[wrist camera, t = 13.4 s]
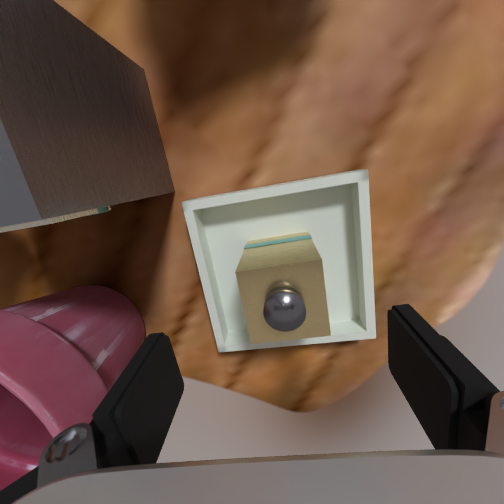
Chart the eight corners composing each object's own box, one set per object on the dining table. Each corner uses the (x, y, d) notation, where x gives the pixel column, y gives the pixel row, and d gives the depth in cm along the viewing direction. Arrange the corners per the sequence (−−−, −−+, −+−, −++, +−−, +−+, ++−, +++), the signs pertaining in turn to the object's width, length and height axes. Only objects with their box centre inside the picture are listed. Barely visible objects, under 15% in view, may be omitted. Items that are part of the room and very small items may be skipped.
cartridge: (246, 240, 22) (231, 277, 14) (308, 230, 21) (326, 264, 14) (257, 295, 23) (248, 355, 16) (315, 287, 23) (335, 346, 15)
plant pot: (9, 279, 26) (-227, 375, 14) (132, 240, 23) (-23, 314, 11) (78, 391, 30) (-60, 545, 17) (190, 367, 27) (120, 527, 15)
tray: (191, 198, 22) (181, 202, 19) (357, 169, 20) (368, 169, 18) (224, 335, 26) (218, 352, 23) (366, 321, 24) (376, 338, 21)
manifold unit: (27, 99, 21) (-484, -48, 7) (143, 69, 19) (-197, -191, 5) (70, 215, 23) (-235, 281, 9) (175, 196, 22) (1, 240, 8)
